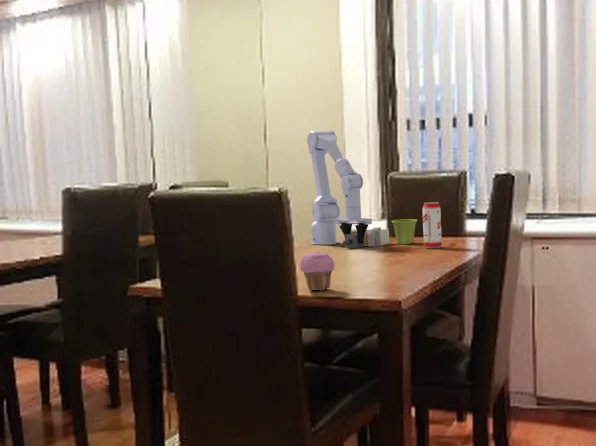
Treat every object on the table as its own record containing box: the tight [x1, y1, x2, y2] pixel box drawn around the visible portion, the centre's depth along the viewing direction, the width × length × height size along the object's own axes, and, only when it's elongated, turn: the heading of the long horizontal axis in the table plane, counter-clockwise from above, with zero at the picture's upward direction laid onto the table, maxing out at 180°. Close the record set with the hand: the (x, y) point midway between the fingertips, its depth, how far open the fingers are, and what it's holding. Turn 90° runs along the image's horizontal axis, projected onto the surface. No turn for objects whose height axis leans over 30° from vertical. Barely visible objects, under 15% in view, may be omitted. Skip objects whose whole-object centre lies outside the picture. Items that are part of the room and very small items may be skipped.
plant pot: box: [391, 218, 418, 245], centre depth 279 cm, size 9×9×9 cm
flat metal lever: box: [367, 226, 382, 234], centre depth 268 cm, size 13×3×1 cm, turn 160°
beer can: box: [422, 201, 443, 250], centre depth 262 cm, size 6×6×16 cm
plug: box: [342, 231, 368, 249], centre depth 276 cm, size 6×15×5 cm, turn 143°
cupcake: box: [299, 251, 335, 292], centre depth 190 cm, size 9×9×10 cm
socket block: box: [351, 227, 390, 248], centre depth 281 cm, size 16×11×6 cm
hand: (354, 243), depth 276 cm, fingers closed on plug, 5 cm apart
